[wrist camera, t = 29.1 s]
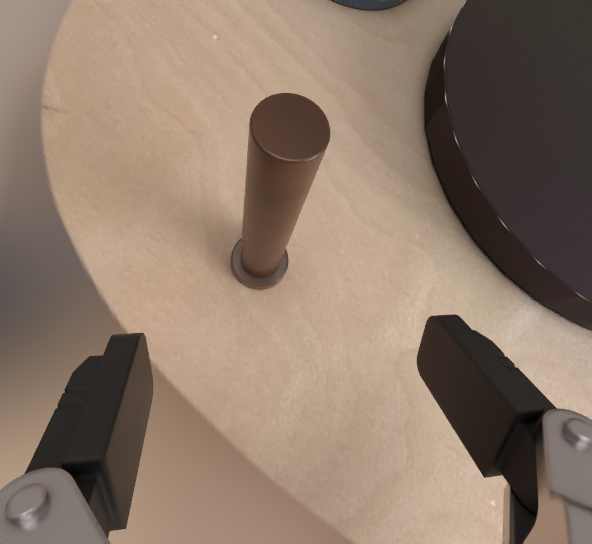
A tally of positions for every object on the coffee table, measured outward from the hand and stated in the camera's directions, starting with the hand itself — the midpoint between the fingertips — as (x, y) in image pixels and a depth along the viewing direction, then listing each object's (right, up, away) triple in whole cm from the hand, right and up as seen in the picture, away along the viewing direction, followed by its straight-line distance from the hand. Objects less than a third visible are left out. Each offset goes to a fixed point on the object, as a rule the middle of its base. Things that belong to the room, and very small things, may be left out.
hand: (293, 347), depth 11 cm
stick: (-2, +3, +11) cm, 12 cm away
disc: (+24, +12, +18) cm, 32 cm away
